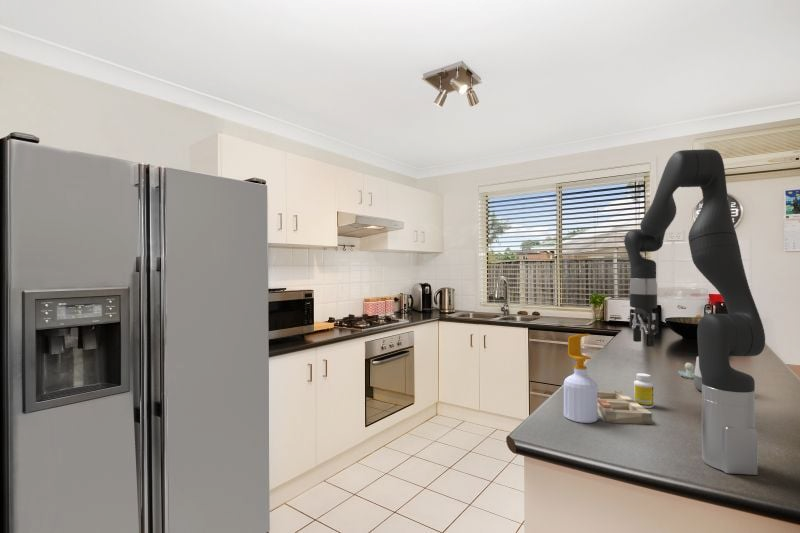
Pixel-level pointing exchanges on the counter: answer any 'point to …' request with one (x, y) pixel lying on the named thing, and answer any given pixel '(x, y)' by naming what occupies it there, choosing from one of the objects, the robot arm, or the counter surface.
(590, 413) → the soap bottle
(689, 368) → the pacifier
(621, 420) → the socket block
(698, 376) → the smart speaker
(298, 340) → the counter surface
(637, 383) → the supplement bottle
